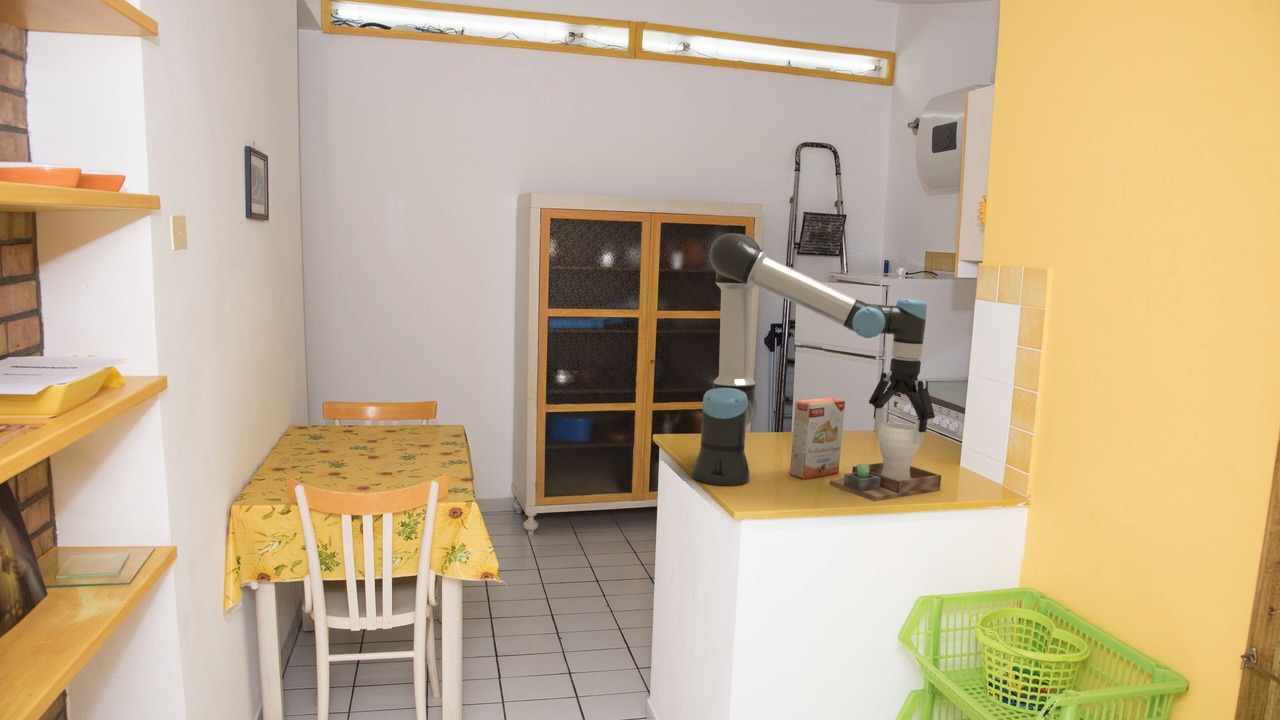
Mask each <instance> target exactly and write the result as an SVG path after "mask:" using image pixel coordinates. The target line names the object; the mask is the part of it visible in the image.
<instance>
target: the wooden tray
mask: <svg viewBox="0 0 1280 720" xmlns="http://www.w3.org/2000/svg"><path fill="white" fill-rule="evenodd" d="M867 465H869V477H868V478H860V477H858V476H857V465H853V466H852V471H851V472H847V473H844V478H838V479H831V480H829V485H831V486H834V487H836V488H839V489H842V490H845V491H847V492H850V493H853V494H855V495H858V496H861V497H863V498H866V499H869V500H872V501H874V502H877V501H882V500H887V499H888V500H889V499H894V498H895V499H896V498H899V497H906V496H907V497H908V496H913V495H919V494H925V493H930V492H936V491H937V492H938V491H941V482H942V475H941V474H938V473H935V472H932V471H930V470H929V471H928V470H926V469H921V468H918V467H915V466H912V465H911V466H910V479H909V480H903V481H897V480H894V479H891V478H888V477H885V476H882V475H881V473H882V469H883V462H877V463H870V464H869V463H868V464H867Z"/></svg>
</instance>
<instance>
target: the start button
mask: <svg viewBox="0 0 1280 720" xmlns="http://www.w3.org/2000/svg"><path fill="white" fill-rule="evenodd" d="M856 466H857V476H858V477H860V478H868V477H869V465H868V464H866V463H865V464H864V463H858V464H857V465H856Z"/></svg>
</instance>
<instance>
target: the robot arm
mask: <svg viewBox="0 0 1280 720" xmlns="http://www.w3.org/2000/svg"><path fill="white" fill-rule="evenodd" d="M709 260H710V264H711V267H712V268H713V270H714V271H715V284H716V285H717V287H718V288H719V289H720V318H719V319H720V321H719V322H720V326H719V327H720V328H719V357H718V358H719V361H718V362H719V363H718V365H719V366H718V367H719V368H718V376H717V377H716V378H715V379H714V380H713V385H712V387H713V388H712V389H709V390H707V391H706V392H705V393H704V394H703V398H702V402H701V408H702V409H701V411H702V413H701V433H700V448H699V451H698V454H697V456H696V459H695V461H694V465H693V466H692V478H693V479H695V481H698V482H701V483H704V484H708V483H709V485H713V486H714V485H715V486H740V485H743V484H744V485H745V484H747V483H748V482H749V481H750V473H751V472H750V468H749V465H748V460H747V456H746V453H745V449H746V448H745V447H746V446H745V445H746V444H745V443H746V432H747V431H746V428H747V426H748V425H749V424H751V422H753V420H754V419H755V416H756V414H757V411H758V402H757V399H756V398H757V397H756V381H754V379H753V378H752V377H751V351H752V323H753V322H752V319H753V318H752V317H753V290H754V289H755V288H756V287H757V286H758V287H760V288H763V289H764V290H766V291H768V292H771V293H773V294H775V295H777V296H779V297H781V298H783V299H785V300H788V301H789V302H792V303H794V304H795V305H798V306H800V307H802V308H805V309H807V310H808V311H811V312H812V313H815V314H817V315H819V316H822V317H823V318H826V319H827V320H830V321H833V322H834V323H836V324H838V325H840V326H843V327H845V328H846V329H848V330H849V331H852V332H854V333H856V334H857V335H858V336H859V337H862V338H865V339H871V338H875V337H878V336H879V335H880V334H882V335H893V338H892V347H891V356H892V358H890V365H889V366H890V367H889V372H881V374H880V379H879V380H878V381H879V382H878V383H877V385H876V387H875V388H874V390H873V393H872V395H871V396H870V399H869V400H868V403H869V405H872V406H873V407H874V410H873V420H874V427H873V433H879V431H880V428H881V425H882V424H883V423H885V414H886V408H885V405H886V404H887V403H888V402H889V401H890V399H892V397H893V396H894V395H895V394H896V393H897V394H901V395H903V396H904V395H905V396H906V397H907V398H908V399H909V401H910V403H911V405H912V408H913V409H914V411H915V414H916V416H917V418H915V423H914V426H915V431H914V440H913V444H920V445H923V444H924V443H923V442H924V434H925V433H926V431H927V426H928V420H931V419H935V417H936V415H935V412H934V408H933V405H932V404H933V403H932V401H931V397H930V392H929V382H928V380H919V378H918V377H919V374H920V373H921V365H922V362H921V360H920V359H922V354H923V346H924V337H925V330H926V322H927V321H926V320H927V306H928V305H927V303H926V302H925V301H924V300H919V299H910V298H899V299H898V300H897V301H896V304H895V305H884V304H874V303H866V302H863V301H862V300H859V299H857V298H856V297H854V296H851V295H849V294H846V293H844V292H843V291H840V290H838V289H836V288H834V287H831V286H830V285H827V284H825V283H823V282H822V281H819V280H817V279H815V278H813V277H810V276H809V275H807V274H804V273H802V272H800V271H798V270H796V269H793V268H792V267H789V266H787V265H785V264H783V263H781V262H778V261H777V260H774V259H773V258H770V257H768V256H767V254H766V252H765V250H762V249H761V247H760V245H759V244H758V242H757V240H755V239H754V238H753V237H751V236H749V235H747V234H746V233H745V234H743V233H733V232H732V233H729V232H728V233H724V234H722V235H720V236H719V237H717V238H716V239H715V241H714V242H713V244H712V245H711V247H710V252H709ZM889 383H890V384H889Z"/></svg>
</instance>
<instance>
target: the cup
mask: <svg viewBox="0 0 1280 720" xmlns="http://www.w3.org/2000/svg"><path fill="white" fill-rule="evenodd" d="M914 431H915V425H912V424H908V423H901V422H884V423H883V424H882V425H881V428H880V431H879V432H878V438H877V439H878V441H877V442H878V446H879V447H878V449H879V450H880V454H881V456H882V463H883V469H882V473H881V475H882V476H885V477H888V478H891V479H894V480H897V481H903V480H909V479H910V466H912V461H913V459H914V458H915V456H916V455H917V453H918V451H919V448H920V445H921V444H913V440H914Z"/></svg>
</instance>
